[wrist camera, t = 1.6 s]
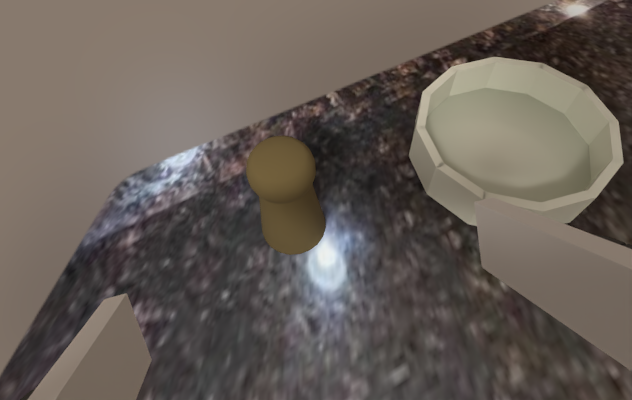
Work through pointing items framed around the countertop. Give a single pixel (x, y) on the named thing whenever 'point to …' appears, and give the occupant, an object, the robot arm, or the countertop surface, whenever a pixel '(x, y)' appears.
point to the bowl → (514, 139)
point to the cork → (286, 194)
